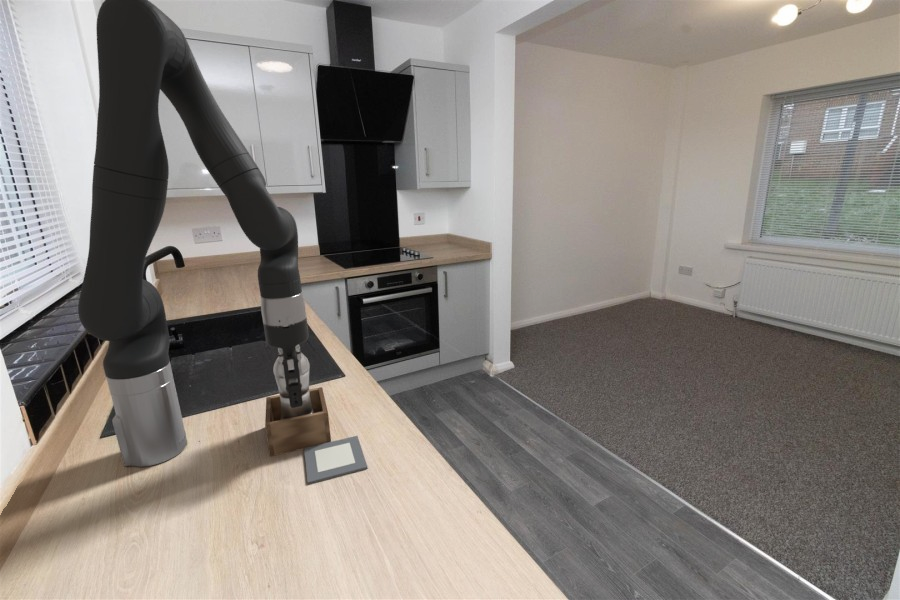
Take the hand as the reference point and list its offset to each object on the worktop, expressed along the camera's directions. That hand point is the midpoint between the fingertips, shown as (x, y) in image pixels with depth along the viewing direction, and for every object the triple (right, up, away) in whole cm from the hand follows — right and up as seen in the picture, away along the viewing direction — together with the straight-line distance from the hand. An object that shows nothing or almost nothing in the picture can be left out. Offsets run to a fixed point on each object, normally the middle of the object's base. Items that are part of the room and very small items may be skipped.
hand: (295, 395), depth 80 cm
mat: (+9, -10, -6) cm, 15 cm away
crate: (0, -8, +2) cm, 8 cm away
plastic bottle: (0, -8, +2) cm, 9 cm away
